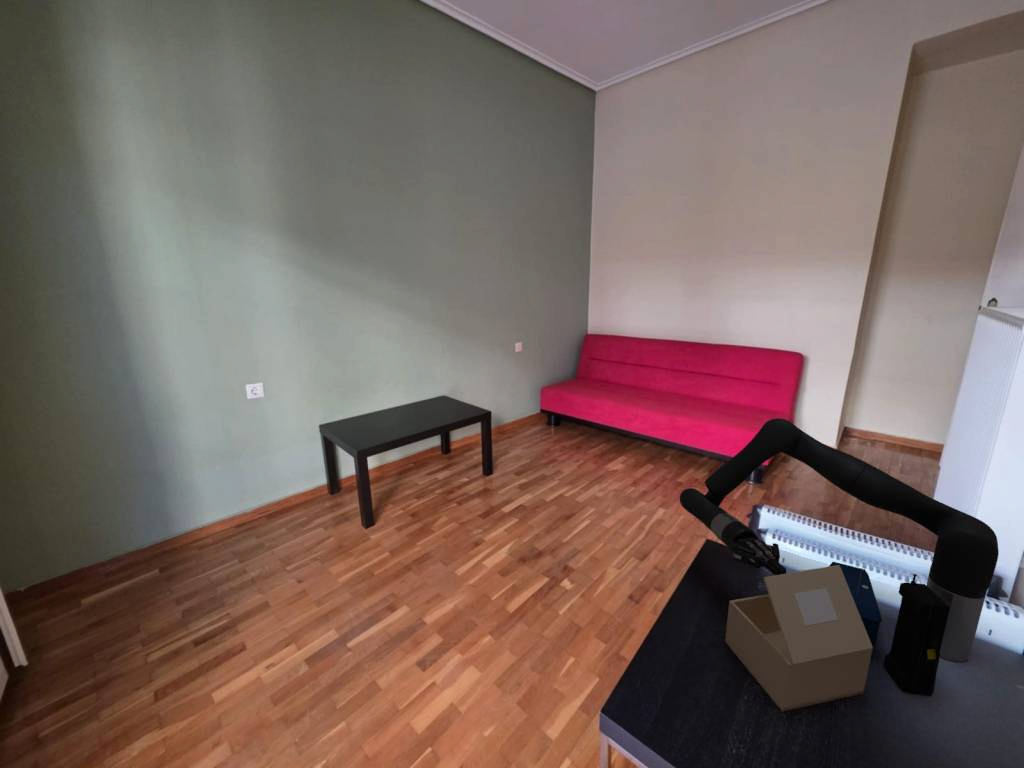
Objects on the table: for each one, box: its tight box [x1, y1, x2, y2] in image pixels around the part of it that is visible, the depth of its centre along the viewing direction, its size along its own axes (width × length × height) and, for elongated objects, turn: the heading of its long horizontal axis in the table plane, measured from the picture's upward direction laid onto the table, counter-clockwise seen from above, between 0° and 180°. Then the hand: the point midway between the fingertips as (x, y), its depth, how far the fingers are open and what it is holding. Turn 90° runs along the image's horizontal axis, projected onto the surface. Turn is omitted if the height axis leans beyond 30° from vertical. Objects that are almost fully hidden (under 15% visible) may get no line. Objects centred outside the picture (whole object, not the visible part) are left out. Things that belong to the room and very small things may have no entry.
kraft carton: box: [724, 593, 872, 713], centre depth 96 cm, size 18×20×12 cm
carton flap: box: [762, 565, 873, 664], centre depth 88 cm, size 16×19×1 cm
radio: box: [829, 561, 883, 656], centre depth 106 cm, size 21×9×20 cm, turn 148°
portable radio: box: [883, 573, 950, 697], centre depth 89 cm, size 8×6×25 cm
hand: (783, 574), depth 97 cm, fingers closed
